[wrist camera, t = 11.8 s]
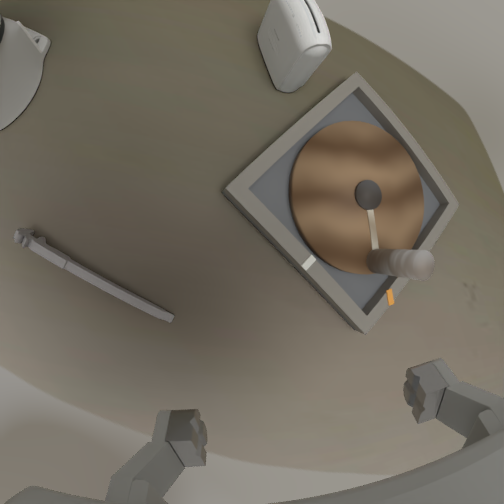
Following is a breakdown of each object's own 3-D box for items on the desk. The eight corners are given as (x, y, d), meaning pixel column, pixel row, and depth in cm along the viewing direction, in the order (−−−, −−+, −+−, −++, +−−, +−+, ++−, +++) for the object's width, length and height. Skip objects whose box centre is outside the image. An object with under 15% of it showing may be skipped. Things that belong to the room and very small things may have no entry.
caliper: (29, 237, 32) (4, 236, 26) (32, 228, 32) (8, 226, 26) (171, 322, 36) (168, 337, 30) (175, 313, 36) (173, 327, 30)
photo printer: (252, 33, 37) (275, -25, 25) (281, 31, 38) (311, -23, 25) (274, 95, 38) (308, 44, 26) (304, 91, 38) (346, 44, 26)
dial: (275, 127, 36) (307, 89, 26) (401, 125, 40) (451, 102, 30) (302, 287, 37) (345, 303, 27) (424, 258, 41) (479, 262, 31)
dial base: (221, 192, 37) (225, 187, 33) (346, 81, 40) (357, 70, 36) (354, 330, 41) (367, 336, 37) (445, 207, 44) (460, 205, 40)
